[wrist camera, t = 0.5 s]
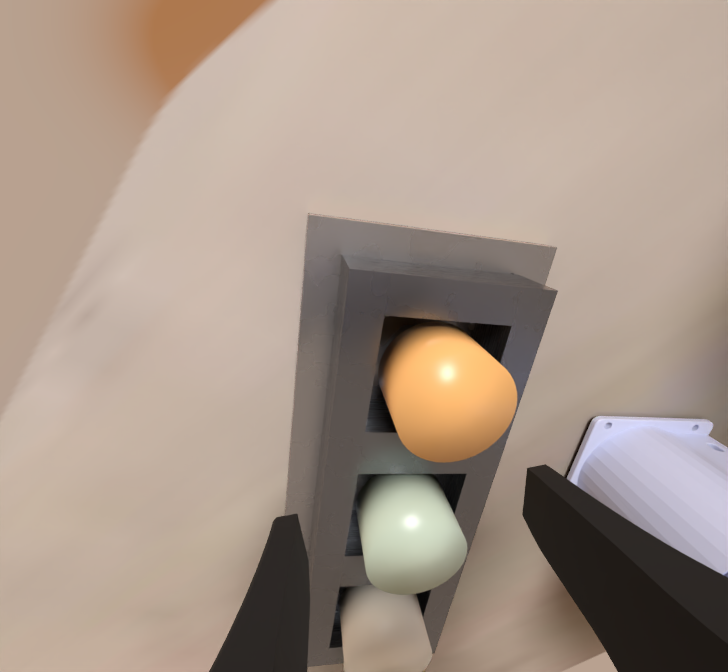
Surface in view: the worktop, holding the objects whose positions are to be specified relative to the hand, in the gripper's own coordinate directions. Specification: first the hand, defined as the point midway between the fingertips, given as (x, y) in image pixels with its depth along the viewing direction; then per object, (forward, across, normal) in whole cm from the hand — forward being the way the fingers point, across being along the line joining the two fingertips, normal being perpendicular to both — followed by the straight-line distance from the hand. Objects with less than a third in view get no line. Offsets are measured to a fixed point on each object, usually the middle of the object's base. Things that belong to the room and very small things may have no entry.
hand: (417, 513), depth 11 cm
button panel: (+10, -1, +7) cm, 12 cm away
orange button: (+6, -3, -1) cm, 7 cm away
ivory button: (+7, +1, +14) cm, 16 cm away
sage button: (+6, -1, +7) cm, 9 cm away
